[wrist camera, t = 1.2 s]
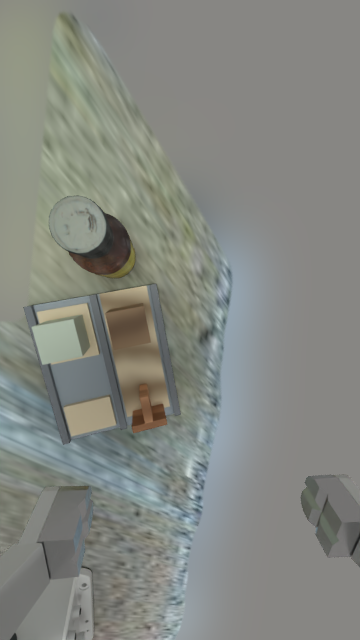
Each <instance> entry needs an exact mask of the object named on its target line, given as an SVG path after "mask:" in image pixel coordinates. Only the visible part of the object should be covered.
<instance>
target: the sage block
mask: <svg viewBox="0 0 360 640" xmlns="http://www.w3.org/2000/svg"><path fill="white" fill-rule="evenodd" d="M32 331H33V334H34V338H35V341H36V345H37V348H38V352H39V355H40V359H41V362H42V365H44V364H49V363H54V362H59V361H63V360H68V359H73V358H78V357H83V355H84V354H85V353H86V352H87V350H88V349H89V348H90V343H89V339H88V335H87V331H86V327H85V323H84V319H83V315H82V314H81V315H76V316H71V317H65V318H60V319H55V320H49V321H45V322H43V323H40V324H38V325H35V326H33V327H32Z"/></svg>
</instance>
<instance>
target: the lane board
mask: <svg viewBox="0 0 360 640" xmlns="http://www.w3.org/2000/svg"><path fill="white" fill-rule="evenodd" d="M146 286H147V291H148V296H149V301H150V306H151V311H152V316H153V321H154V327H155V332H156V337H157V342H158V347H159V352H160V357H161V363H162V368H163V373H164V378H165V383H166V388H167V393H168V399H169V404H170V407H166V408H164V410H165V415H170V414H174V415H175V416H177V415H181V413H180V408H179V403H178V397H177V392H176V387H175V381H174V376H173V371H172V365H171V360H170V355H169V349H168V344H167V339H166V333H165V328H164V323H163V317H162V312H161V306H160V301H159V296H158V290H157V285H156V284H152V285H146ZM140 287H141V286H140ZM129 289H130V288H129ZM123 290H124V289H123ZM106 293H107V292H106ZM24 311H25V315H26V318H27V322H28V325H29V329H30V332H31V336H32V339H33V342H34V346H35V349H36V353H37V356H38V360H39V363H40V367H41V370H42V374H43V377H44V381H45V384H46V387H47V391H48V394H49V398H50V401H51V405H52V408H53V412H54V415H55V419H56V422H57V426H58V429H59V432H60V436H61V439H62V443H63V445H64V444H68V443H70V441H71V440H72V439H76V438H80V437H84V436H88V435H92V434H96V433H100V432H103V431H107V430H111V429H115V428H119V427H120V429H121V430H122V429H126V428H127V425H131V424H132V416H130V417H127V413H126V409H125V404H124V400H123V396H122V391H121V387H120V383H119V378H118V374H117V370H116V365H115V361H114V357H113V352H112V348H111V344H110V339H109V335H108V331H107V326H106V322H105V318H104V313H103V309H102V305H101V300H100V296H99V294H95V295H89V296H84V297H78V298H72V299H66V300H61V301H55V302H49V303H44V304H38V305H32V306H27V307H24ZM81 314H82V315H83V319H84V323H85V327H86V331H87V335H88V339H89V343H90V348H89V349H88V350H87V352H86V353H85V354H84V355H83V357H78V358H73V359H68V360H63V361H59V362H54V363H49V364H44V365H42V362H41V359H40V355H39V352H38V348H37V345H36V341H35V338H34V334H33V331H32V327H33V326H35V325H38V324H40V323H43V322H45V321H49V320H55V319H60V318H65V317H71V316H76V315H81Z"/></svg>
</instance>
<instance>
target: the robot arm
mask: <svg viewBox="0 0 360 640" xmlns="http://www.w3.org/2000/svg"><path fill="white" fill-rule="evenodd" d="M305 484H306V486H307V487H306V488H305V489H304V490H303V491H302V494H301V504H302V508H303V511H304V513H305V515H306V517H307V519H308V521H309V522H310V523H311V524H313V525H314V526H315V527H316V536H317V538H318V540H319V542H320V544H321V546H322V548H323V550H324V552H325V553H326V555H327V557H329V558H330V557H351V559H352V560H353V561H354V562H355V563H356V564H357V565H358V566H359V567H360V489H359V487H358V486H357V485H356V484H355V482H354V481H353V480H352V479H351V478H350V477H349V476H348V475H344V474H343V475H318V476H308V477H307V478H306V480H305ZM91 494H92V490H91V486H55V487H45V489H44V490H43V491H42V492H41V495H40V497H39V499H38V501H37V503H36V505H35V508H34V510H33V512H32V514H31V516H30V518H29V521H28V523H27V525H26V527H25V529H24V531H23V534H22V536H21V538H20V540H19V542H18V544H13V545H12V546H11V547H10V548H9V549H8V550H7V551H6V552H5V553H4V554H3V555H2V556H1V557H0V640H92V639H93V635H94V610H93V584H92V572H91V571H90V570H89V569H86V568H81V565H82V561H83V557H84V553H85V544H84V539H85V538H86V537H87V536H88V534H89V532H90V527H91V522H92V515H93V501H92V500H91V499H90V497H91Z"/></svg>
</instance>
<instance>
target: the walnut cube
mask: <svg viewBox="0 0 360 640" xmlns="http://www.w3.org/2000/svg"><path fill="white" fill-rule="evenodd" d="M105 315H106V319H107V324H108V328H109V333H110V337H111V341H112V346H113V350H118V349H122V348H127V347H132V346H137V345H142V344H146V343H151V339H150V334H149V329H148V324H147V319H146V314H145V309H144V305H143V303H141V304H136V305H131V306H125V307H120V308H114V309H110V310H108V311H107V312H106V313H105Z"/></svg>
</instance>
